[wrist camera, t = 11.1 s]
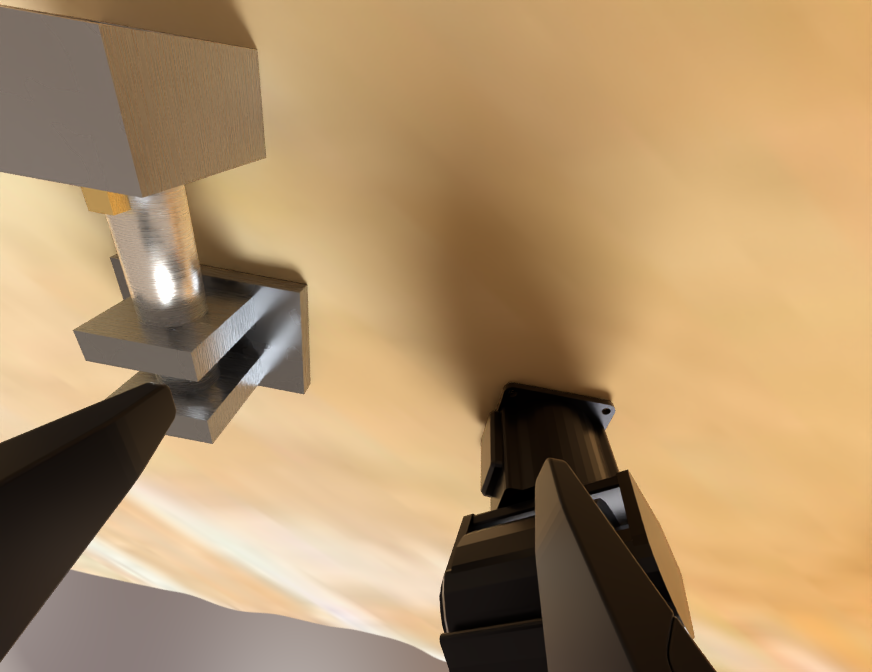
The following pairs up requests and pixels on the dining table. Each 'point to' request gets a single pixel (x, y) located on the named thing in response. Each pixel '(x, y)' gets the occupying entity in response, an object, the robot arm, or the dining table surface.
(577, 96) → the dining table surface
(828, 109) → the dining table surface
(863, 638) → the dining table surface
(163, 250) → the shaft stand
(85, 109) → the hollow rectangular metal block
